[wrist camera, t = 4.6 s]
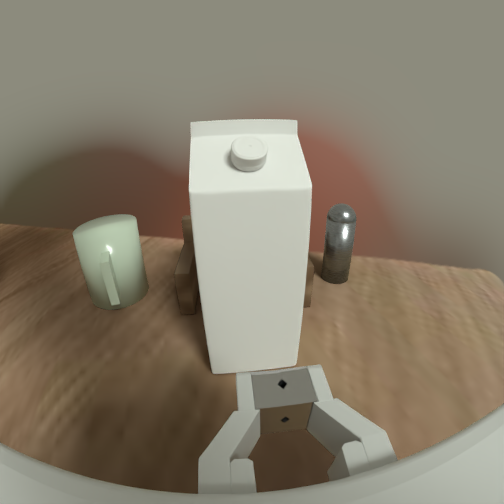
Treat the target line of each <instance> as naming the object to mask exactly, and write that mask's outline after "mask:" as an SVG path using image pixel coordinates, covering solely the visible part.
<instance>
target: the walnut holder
mask: <svg viewBox="0 0 504 504" xmlns="http://www.w3.org/2000/svg"><path fill="white" fill-rule="evenodd" d="M182 228H183V237H184V245H183V248H182V251H181V254H180V257H179V260H178V263H177V266H176V270H175V273H174V277H175V283H176V289H177V294H178V300H179V305H180V310H181V314H195V310H196V302H197V295H198V288H199V284H198V276H197V267H196V259H195V250H194V240H193V230H192V220H191V215H190V216H183V218H182ZM313 276H314V265H313V263H312V262H311V260H310V258H309V257H308V261H307V273H306V284H305V294H304V304H303V307H310V303H311V295H312V286H313Z"/></svg>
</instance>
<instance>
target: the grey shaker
mask: <svg viewBox="0 0 504 504" xmlns="http://www.w3.org/2000/svg"><path fill="white" fill-rule="evenodd" d="M355 226H356V214H355V212H354V210H353V209H352V208H351V207H350V206H348V205H346V204H337V205H334V206H333V207H332V208H331V209H330V210H329V212H328V214H327V224H326V235H325V246H324V255H323V265H322V274H321V277H322V279H323V280H325V281H327V282H329V283H333V284H341V283H344V282H346V281H347V280H348V275H349V269H350V263H351V256H352V249H353V242H354V234H355Z"/></svg>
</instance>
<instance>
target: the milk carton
mask: <svg viewBox="0 0 504 504" xmlns="http://www.w3.org/2000/svg"><path fill="white" fill-rule="evenodd" d="M189 172H190V173H189V197H190V209H191V220H192V230H193V240H194V250H195V259H196V267H197V276H198V284H199V291H200V299H201V306H202V313H203V320H204V327H205V333H206V340H207V346H208V352H209V358H210V364H211V370H212V373H213V374H223V373H236V372H247V371H257V370H266V369H275V368H282V367H289V366H294V365H296V362H297V355H298V347H299V339H300V331H301V323H302V314H303V304H304V294H305V284H306V273H307V261H308V248H309V234H310V217H311V196H312V183H311V180H310V176H309V173H308V169H307V166H306V162H305V159H304V155H303V153H302V149H301V146H300V143H299V139H298V136H297V120H273V119H270V120H269V119H255V120H254V119H249V120H219V121H201V122H191V148H190V171H189Z"/></svg>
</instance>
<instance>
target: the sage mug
mask: <svg viewBox="0 0 504 504" xmlns="http://www.w3.org/2000/svg"><path fill="white" fill-rule="evenodd" d="M73 237H74V241H75V245H76V249H77V253H78V257H79V260H80V264H81V267H82V271H83V274H84V278H85V281H86V284H87V287H88V290H89V293H90V296H91V299H92V302H93V304H94V305H95V306H97V307H99V308H101V309H107V310H114V309H121V308H125V307H128V306H130V305H133V304H135V303H136V302H138V301H140V300H141V299H142V298H143V297H144V296H145V295H146V294H147V292H148V289H149V285H148V280H147V275H146V271H145V266H144V261H143V256H142V250H141V245H140V239H139V234H138V228H137V221H136V218H135V217H134V216H132V215H124V214H120V215H110V216H105V217H101V218H98V219H94V220H91V221H89V222H86V223H85V224H82V225H81V226H79V227H78V228H76V229H75V230H74V232H73Z"/></svg>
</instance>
